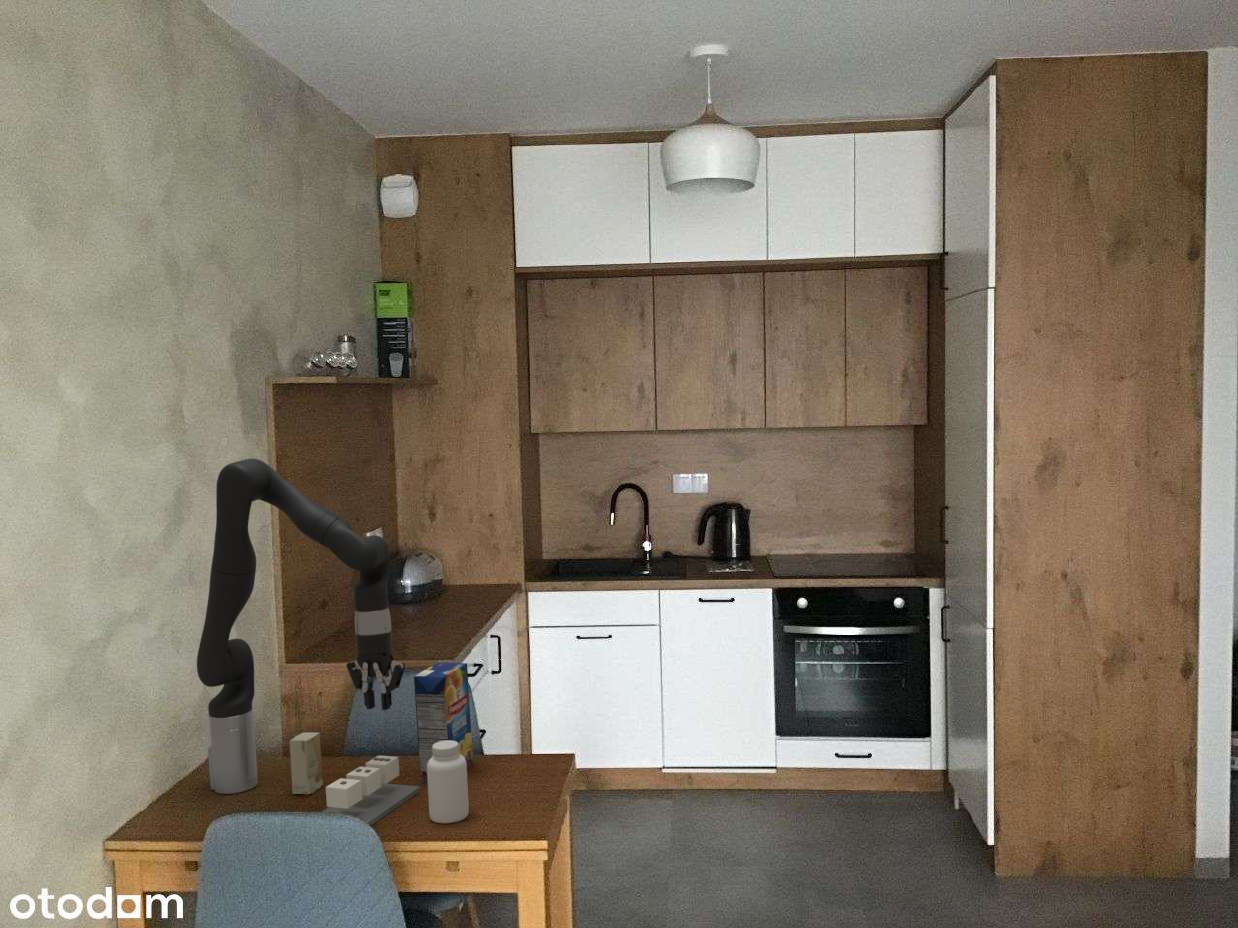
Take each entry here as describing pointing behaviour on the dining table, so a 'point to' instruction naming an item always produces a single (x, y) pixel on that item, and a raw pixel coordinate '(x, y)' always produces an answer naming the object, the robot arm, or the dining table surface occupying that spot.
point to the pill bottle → (447, 783)
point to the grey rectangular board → (378, 802)
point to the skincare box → (306, 763)
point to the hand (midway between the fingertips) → (378, 708)
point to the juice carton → (443, 711)
